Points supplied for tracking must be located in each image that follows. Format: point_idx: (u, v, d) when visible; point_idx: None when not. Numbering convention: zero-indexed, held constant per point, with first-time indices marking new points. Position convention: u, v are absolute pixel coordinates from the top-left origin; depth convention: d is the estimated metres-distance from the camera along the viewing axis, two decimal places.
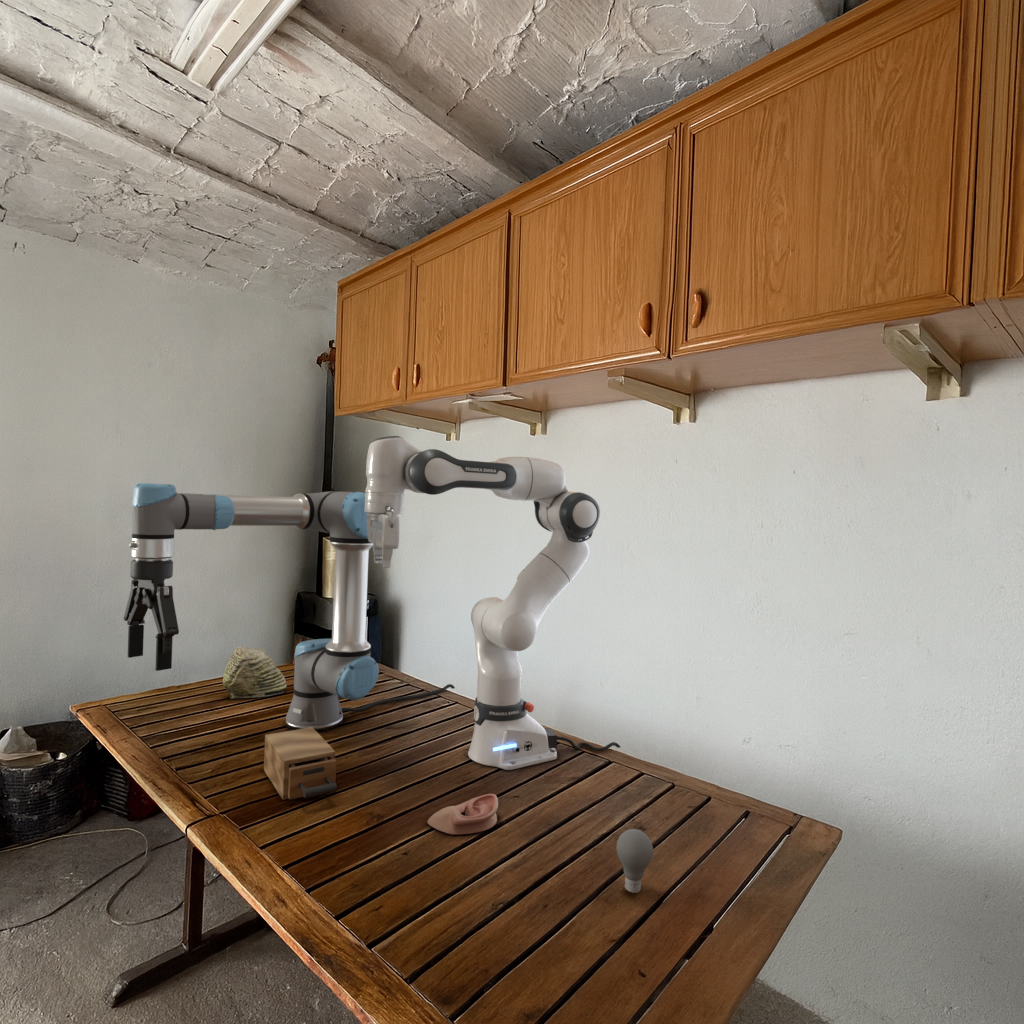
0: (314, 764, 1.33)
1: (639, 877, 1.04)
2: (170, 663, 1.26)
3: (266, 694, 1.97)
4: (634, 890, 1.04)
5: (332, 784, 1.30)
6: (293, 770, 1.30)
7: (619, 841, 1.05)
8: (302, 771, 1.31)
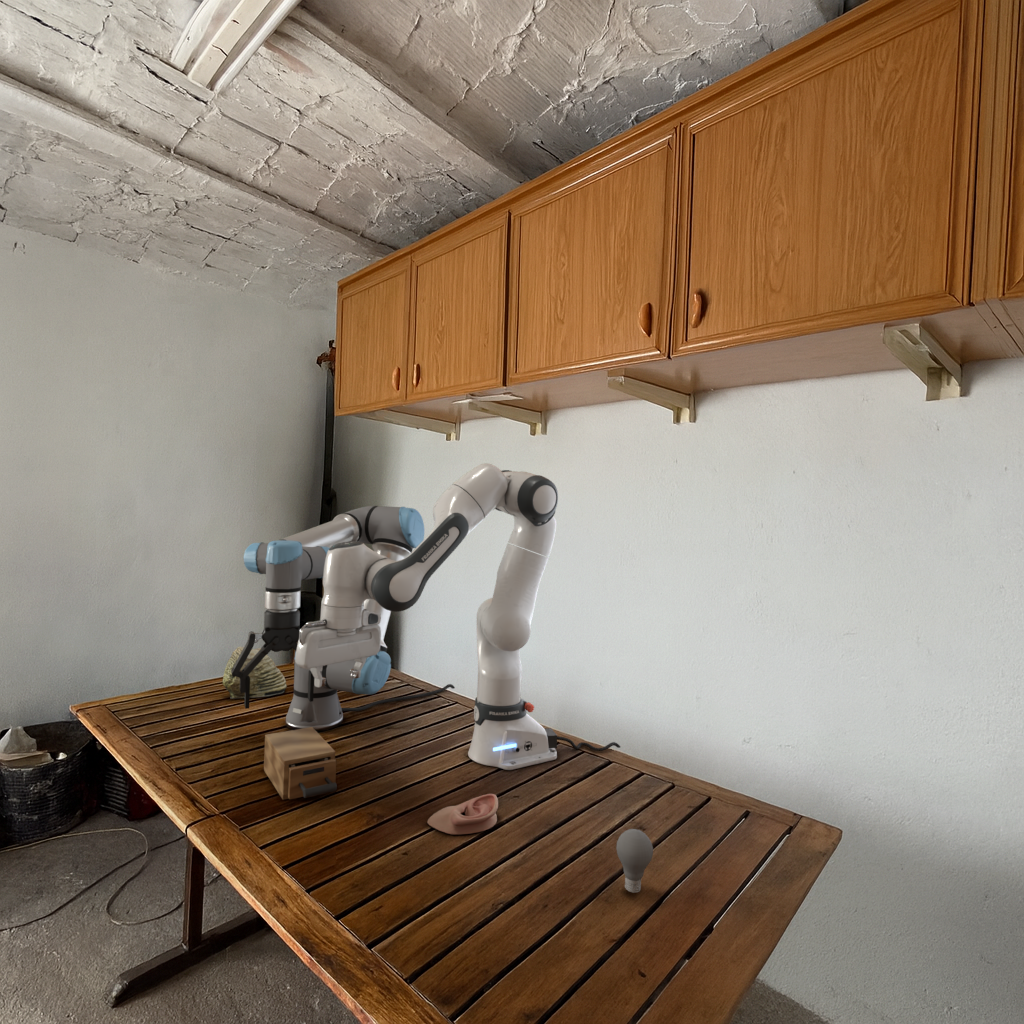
0: (314, 764, 1.33)
1: (639, 877, 1.04)
2: None
3: (266, 694, 1.97)
4: (634, 890, 1.04)
5: (332, 784, 1.30)
6: (293, 770, 1.30)
7: (619, 841, 1.05)
8: (302, 771, 1.31)
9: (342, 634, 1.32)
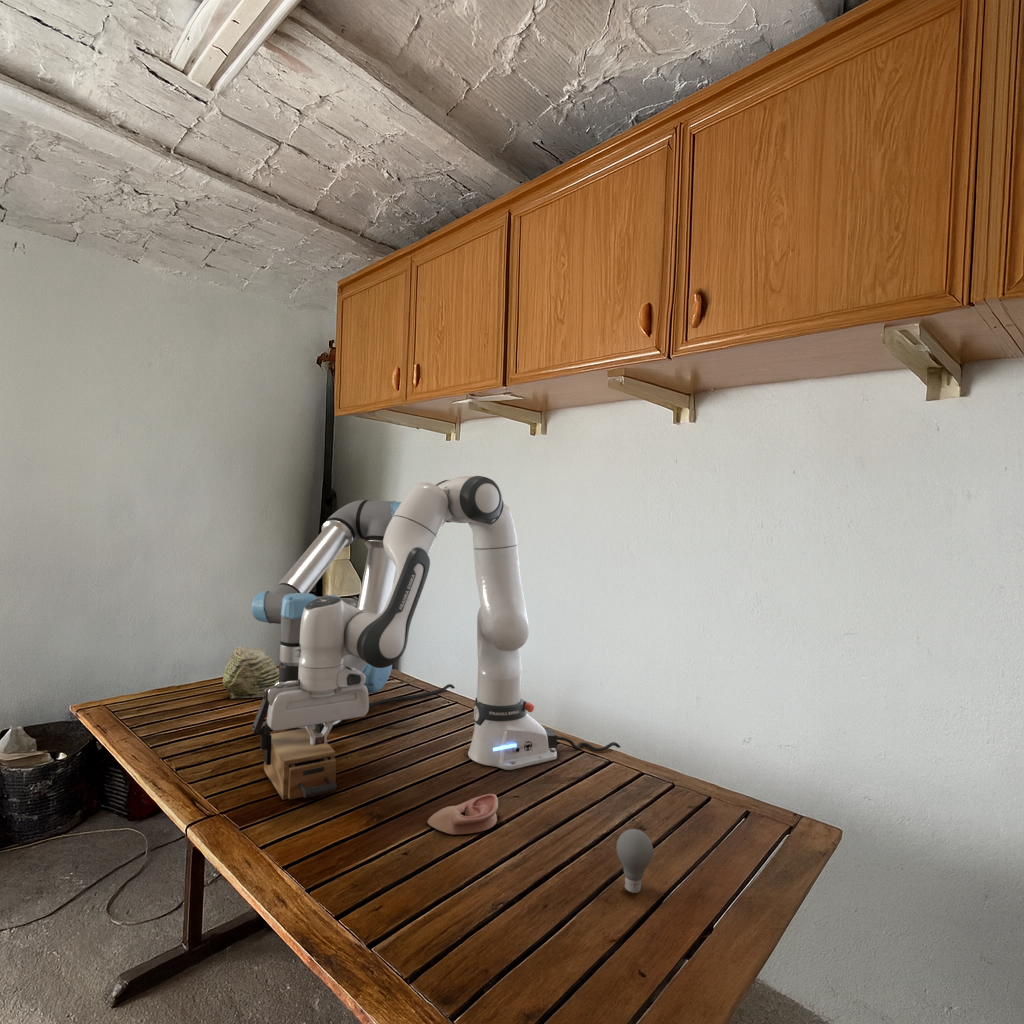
0: (314, 764, 1.33)
1: (639, 877, 1.04)
2: None
3: None
4: (634, 890, 1.04)
5: (332, 784, 1.30)
6: (293, 770, 1.30)
7: (619, 841, 1.05)
8: (302, 771, 1.31)
9: (315, 696, 1.27)
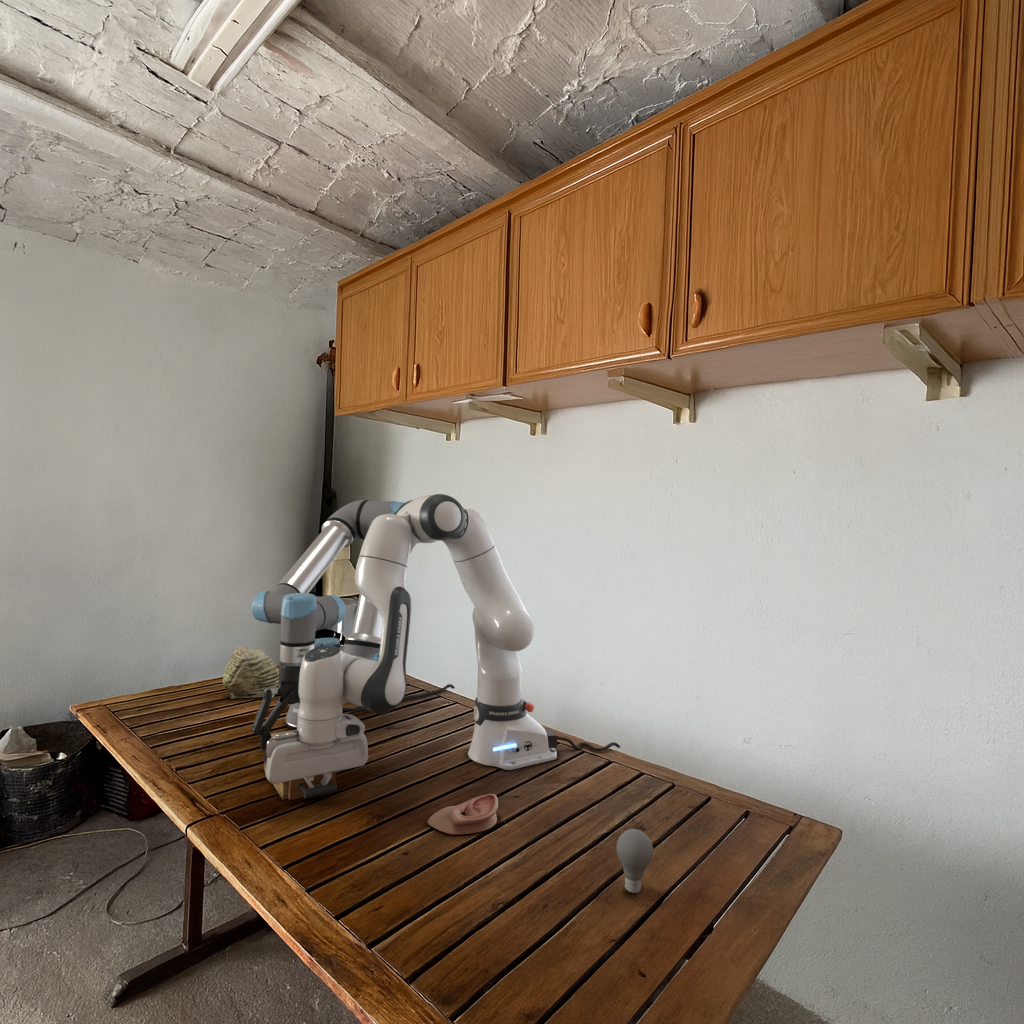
0: None
1: (639, 877, 1.04)
2: None
3: None
4: (634, 890, 1.04)
5: (332, 785, 1.30)
6: None
7: (619, 841, 1.05)
8: None
9: (314, 747, 1.27)
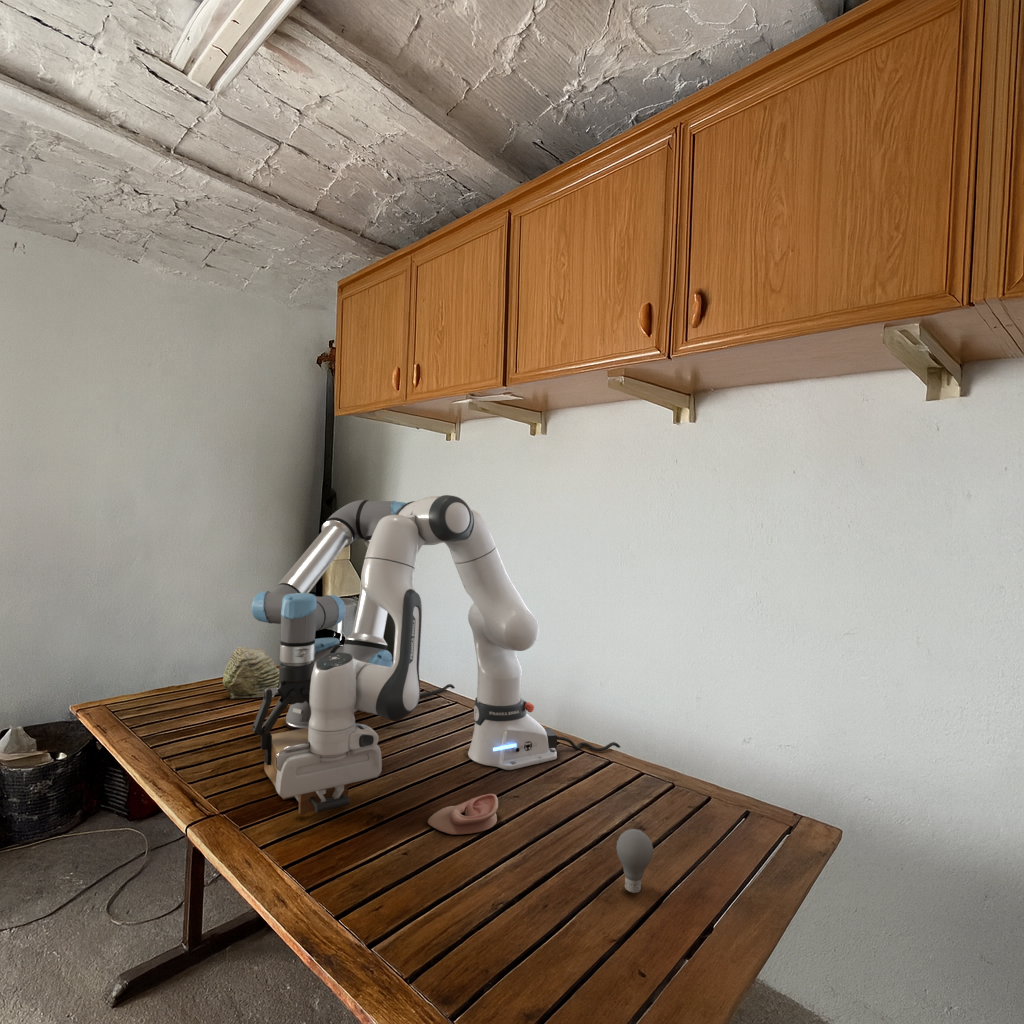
0: None
1: (639, 877, 1.04)
2: None
3: None
4: (634, 890, 1.04)
5: (345, 798, 1.24)
6: None
7: (619, 841, 1.05)
8: None
9: (326, 759, 1.21)
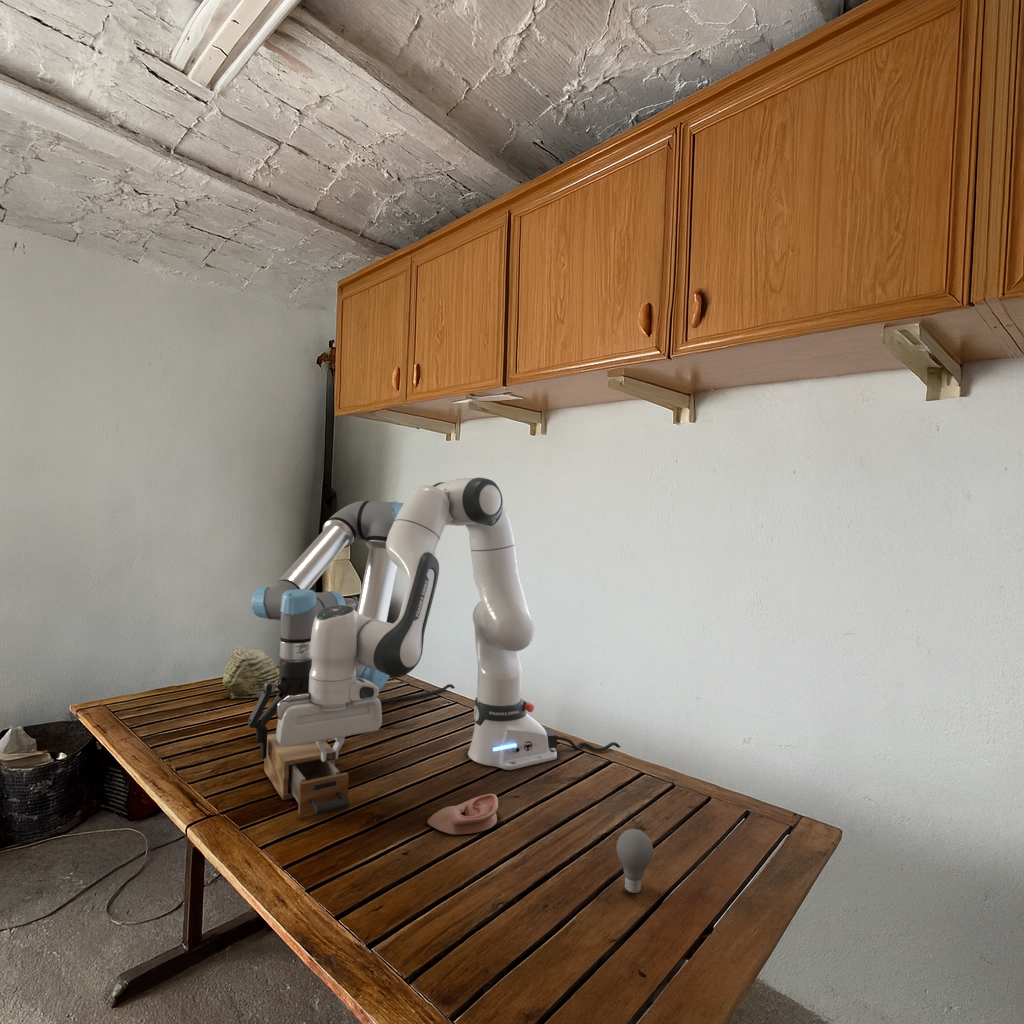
0: (325, 778, 1.27)
1: (639, 877, 1.04)
2: None
3: None
4: (634, 890, 1.04)
5: (345, 799, 1.24)
6: (304, 785, 1.24)
7: (619, 841, 1.05)
8: (313, 786, 1.25)
9: (326, 710, 1.21)
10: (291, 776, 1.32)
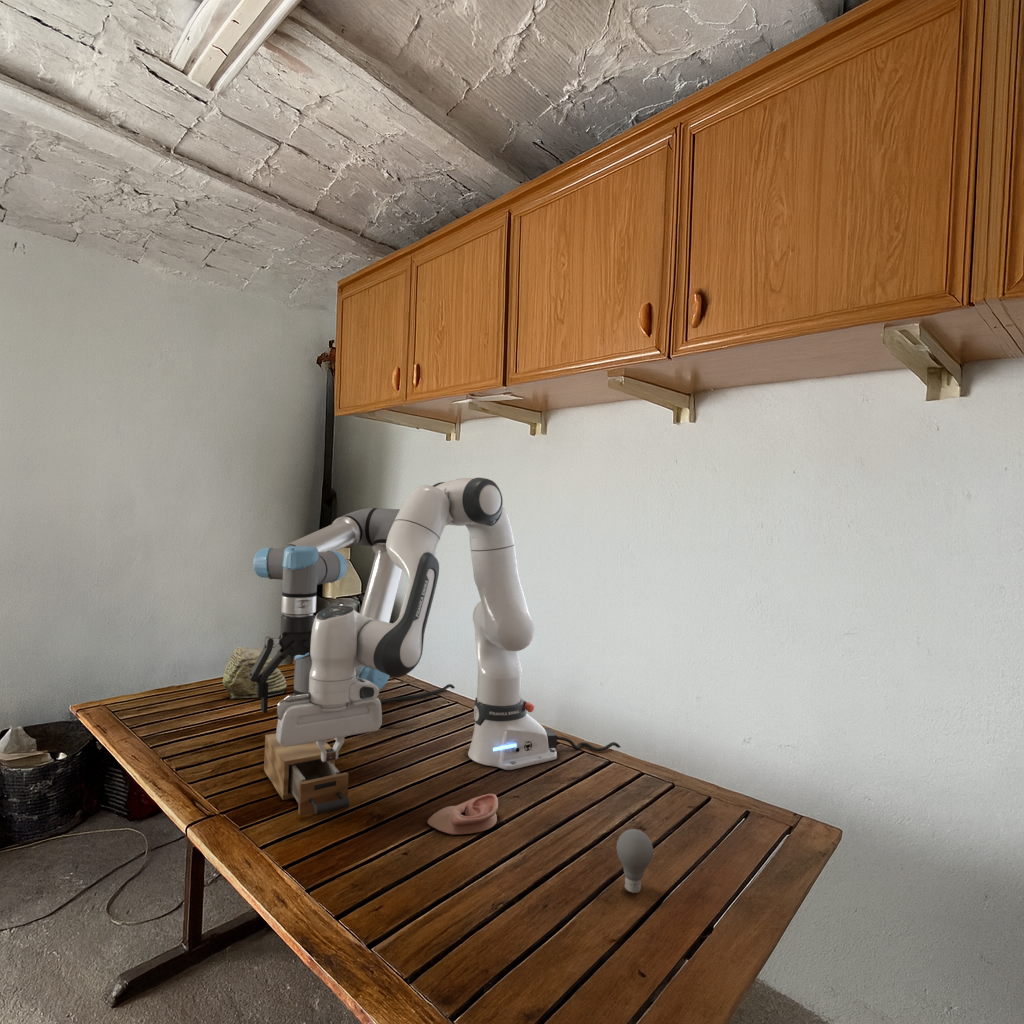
0: (325, 778, 1.27)
1: (639, 877, 1.04)
2: None
3: None
4: (634, 890, 1.04)
5: (345, 799, 1.24)
6: (304, 785, 1.24)
7: (619, 841, 1.05)
8: (313, 786, 1.25)
9: (326, 710, 1.21)
10: (291, 776, 1.32)
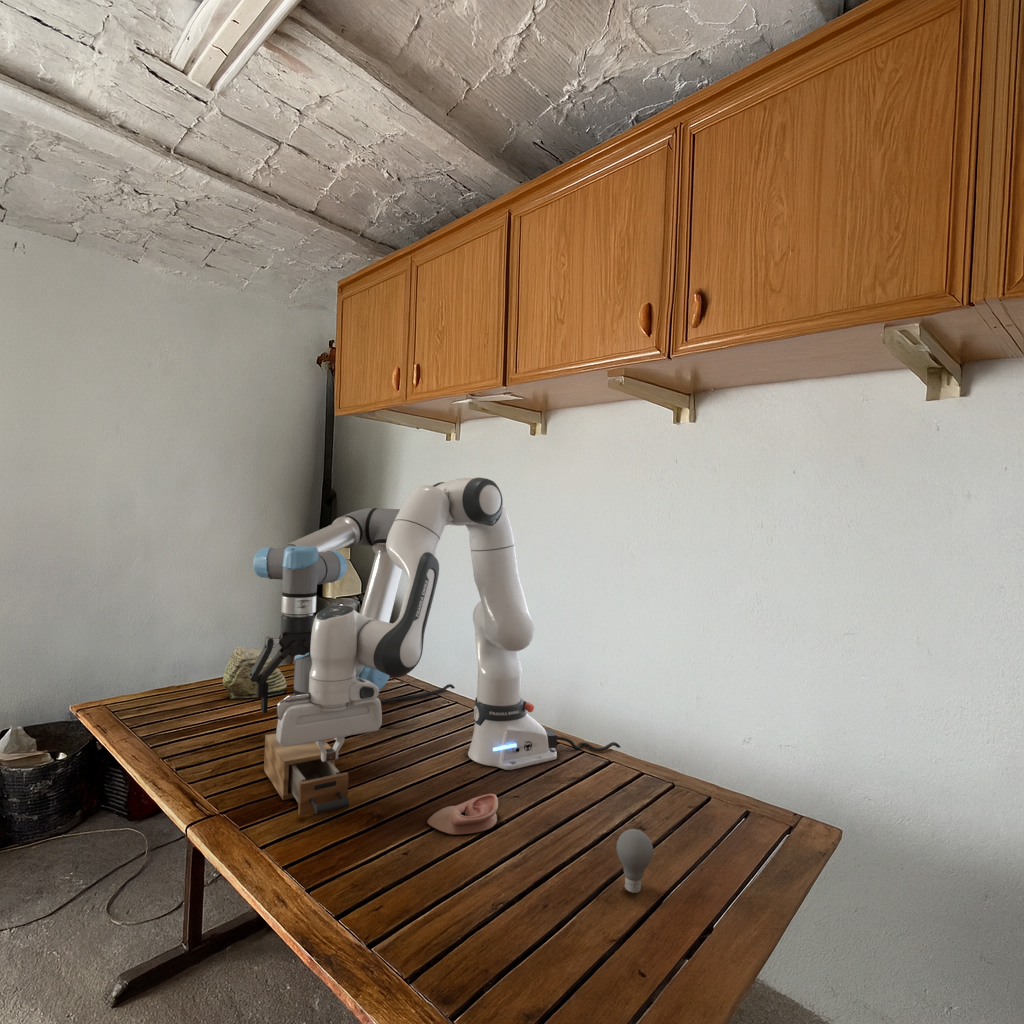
0: (325, 778, 1.27)
1: (639, 877, 1.04)
2: None
3: None
4: (634, 890, 1.04)
5: (345, 799, 1.24)
6: (304, 785, 1.24)
7: (619, 841, 1.05)
8: (313, 785, 1.25)
9: (326, 710, 1.21)
10: (291, 776, 1.32)
